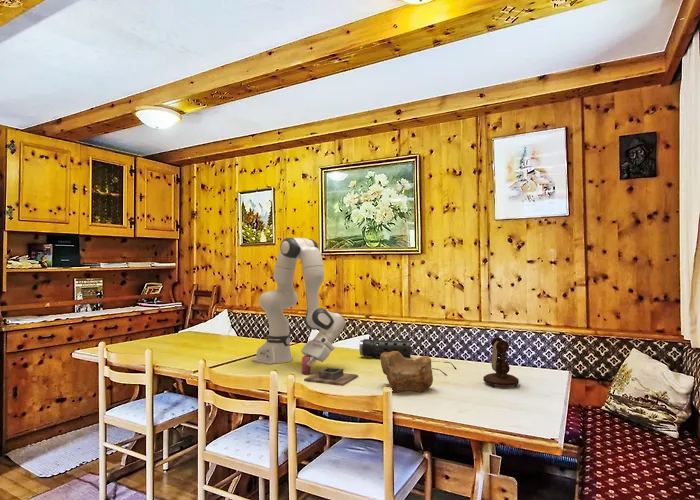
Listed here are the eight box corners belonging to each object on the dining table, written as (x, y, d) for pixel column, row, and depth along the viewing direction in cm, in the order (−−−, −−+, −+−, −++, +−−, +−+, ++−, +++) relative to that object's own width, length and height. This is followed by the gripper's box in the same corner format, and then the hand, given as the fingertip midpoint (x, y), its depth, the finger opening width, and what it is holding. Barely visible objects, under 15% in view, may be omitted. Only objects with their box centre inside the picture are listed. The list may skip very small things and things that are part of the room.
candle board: (304, 380, 203) (304, 372, 203) (321, 372, 217) (320, 364, 217) (343, 385, 194) (343, 376, 194) (358, 376, 208) (357, 368, 209)
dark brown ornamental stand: (479, 379, 201) (478, 335, 201) (512, 379, 201) (511, 335, 201) (488, 389, 186) (487, 342, 187) (524, 389, 186) (523, 341, 186)
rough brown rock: (370, 393, 185) (370, 358, 184) (383, 380, 200) (383, 347, 199) (425, 402, 176) (424, 365, 175) (434, 387, 191) (434, 353, 190)
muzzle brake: (409, 361, 240) (409, 342, 240) (359, 359, 245) (359, 340, 246) (410, 357, 249) (410, 338, 249) (362, 355, 255) (362, 337, 255)
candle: (300, 374, 215) (300, 355, 215) (304, 372, 219) (304, 354, 219) (307, 374, 213) (307, 356, 213) (311, 372, 217) (311, 354, 217)
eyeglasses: (423, 365, 231) (423, 355, 232) (457, 369, 221) (457, 359, 221) (410, 372, 218) (410, 361, 218) (446, 377, 208) (446, 366, 208)
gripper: (309, 335, 229) (291, 356, 223) (328, 341, 211) (310, 364, 206) (316, 342, 231) (299, 363, 226) (336, 349, 214) (318, 372, 208)
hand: (305, 364), depth 216 cm, fingers closed on candle, 4 cm apart
